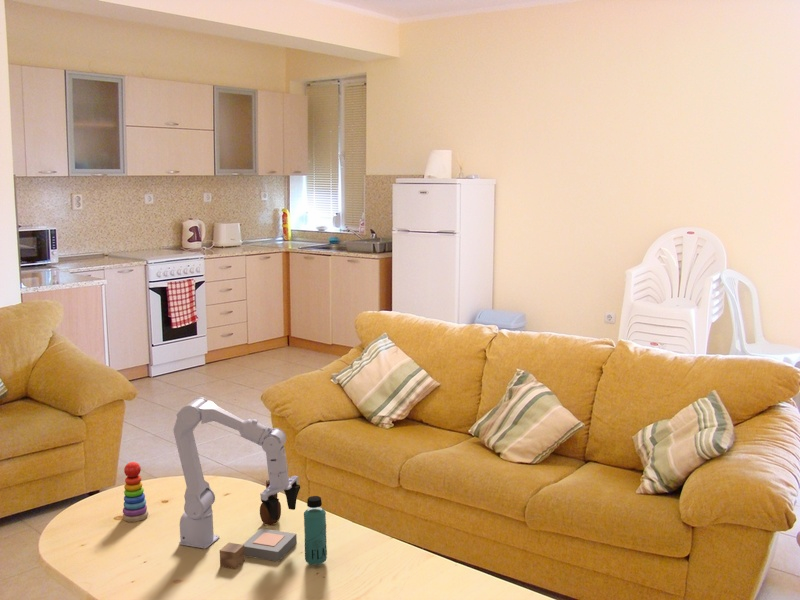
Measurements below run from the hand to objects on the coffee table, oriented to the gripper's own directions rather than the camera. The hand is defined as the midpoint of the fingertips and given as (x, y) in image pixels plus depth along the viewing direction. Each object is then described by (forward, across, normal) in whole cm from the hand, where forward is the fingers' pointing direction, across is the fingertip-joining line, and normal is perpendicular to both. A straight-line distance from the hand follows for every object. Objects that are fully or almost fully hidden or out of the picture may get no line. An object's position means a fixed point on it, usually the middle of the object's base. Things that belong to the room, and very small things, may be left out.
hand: (283, 514), depth 228 cm
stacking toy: (+6, -12, +55) cm, 57 cm away
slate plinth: (+10, -4, +3) cm, 11 cm away
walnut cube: (+9, -16, +6) cm, 20 cm away
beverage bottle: (+12, -4, -14) cm, 18 cm away
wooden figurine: (+10, +9, +15) cm, 20 cm away
